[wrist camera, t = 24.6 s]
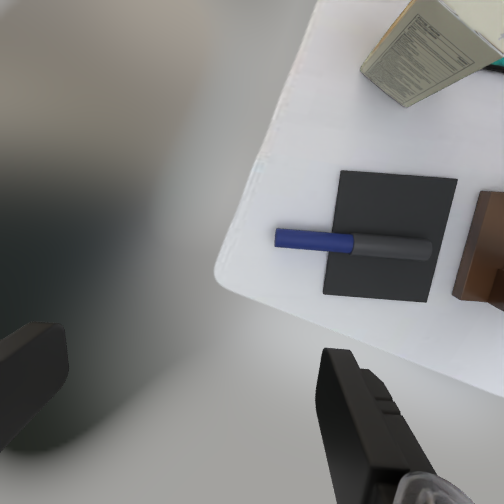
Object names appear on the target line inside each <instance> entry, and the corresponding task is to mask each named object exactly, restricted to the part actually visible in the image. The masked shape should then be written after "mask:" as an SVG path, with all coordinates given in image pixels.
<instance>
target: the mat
mask: <svg viewBox="0 0 504 504" xmlns="http://www.w3.org/2000/svg"><path fill="white" fill-rule="evenodd" d="M457 181H458V179H451V178H438V177H424V176H411V175H398V174H384V173H371V172H357V171H344V170H342V171H341V174H340V181H339V187H338V194H337V201H336V207H335V214H334V221H333V227H332V233H339V234H350V233H362V234H374V235H386V236H398V237H410V238H422V239H428V240H430V242H431V244H432V254H431V256H430V258H429V259H428V260H427V261H414V260H402V259H390V258H378V257H366V256H354V255H349V254H348V253H341V252H329V254H328V261H327V268H326V274H325V281H324V288H323V294H325V295H338V296H350V297H363V298H375V299H388V300H400V301H413V302H427V298H428V295H429V291H430V287H431V283H432V279H433V275H434V271H435V267H436V263H437V259H438V255H439V251H440V248H441V244H442V240H443V236H444V232H445V228H446V224H447V220H448V216H449V212H450V208H451V204H452V200H453V197H454V193H455V189H456V185H457Z"/></svg>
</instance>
